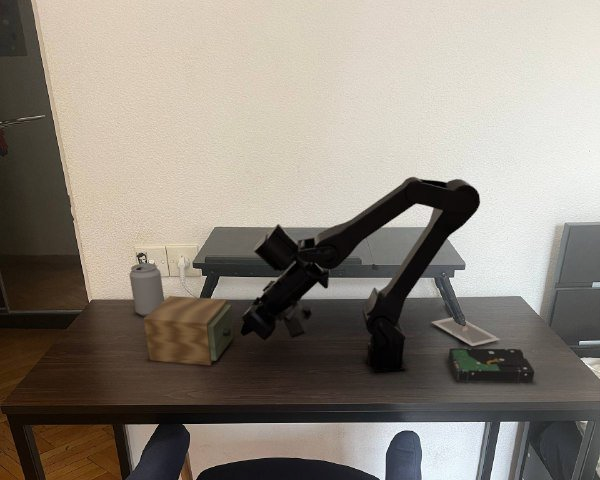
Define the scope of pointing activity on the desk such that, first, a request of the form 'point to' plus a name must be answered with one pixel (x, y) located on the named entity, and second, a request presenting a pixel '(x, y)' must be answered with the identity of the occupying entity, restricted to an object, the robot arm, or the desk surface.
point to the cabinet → (182, 329)
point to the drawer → (220, 332)
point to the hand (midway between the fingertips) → (242, 333)
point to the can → (146, 287)
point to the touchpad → (466, 332)
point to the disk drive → (490, 365)
